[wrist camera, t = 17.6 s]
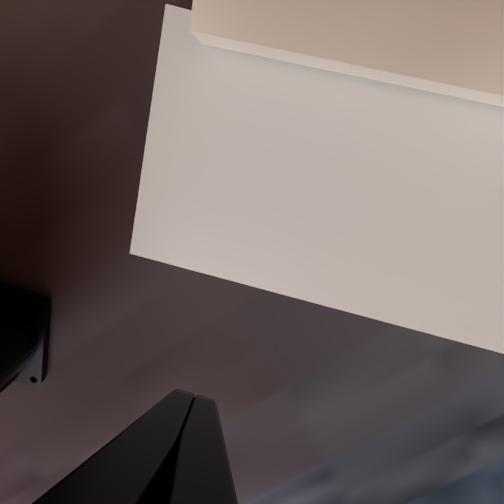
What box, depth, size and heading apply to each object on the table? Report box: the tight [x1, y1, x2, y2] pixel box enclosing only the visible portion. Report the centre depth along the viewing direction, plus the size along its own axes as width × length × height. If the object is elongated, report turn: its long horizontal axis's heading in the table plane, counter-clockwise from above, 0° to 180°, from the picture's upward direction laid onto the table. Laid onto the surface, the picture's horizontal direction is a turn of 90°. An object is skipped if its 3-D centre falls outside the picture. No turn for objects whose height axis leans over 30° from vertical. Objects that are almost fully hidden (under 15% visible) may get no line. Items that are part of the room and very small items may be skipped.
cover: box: [189, 0, 504, 107], centre depth 11 cm, size 5×18×2 cm, turn 78°
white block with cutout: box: [130, 4, 504, 354], centre depth 15 cm, size 18×19×4 cm
